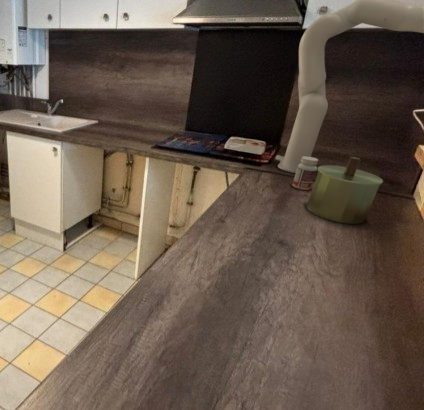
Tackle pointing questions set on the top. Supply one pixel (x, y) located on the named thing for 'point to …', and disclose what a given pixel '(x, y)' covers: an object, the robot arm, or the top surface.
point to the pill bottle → (305, 173)
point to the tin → (340, 200)
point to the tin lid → (350, 173)
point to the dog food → (245, 145)
